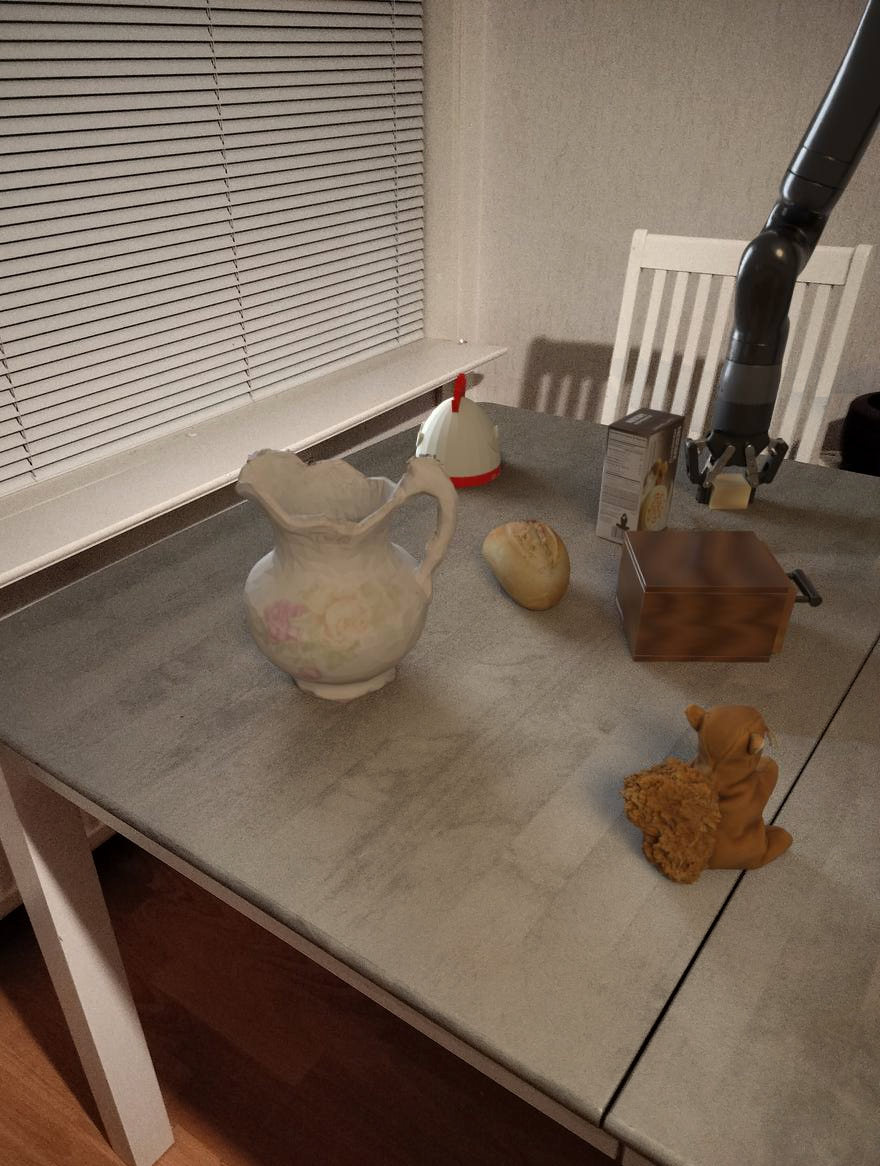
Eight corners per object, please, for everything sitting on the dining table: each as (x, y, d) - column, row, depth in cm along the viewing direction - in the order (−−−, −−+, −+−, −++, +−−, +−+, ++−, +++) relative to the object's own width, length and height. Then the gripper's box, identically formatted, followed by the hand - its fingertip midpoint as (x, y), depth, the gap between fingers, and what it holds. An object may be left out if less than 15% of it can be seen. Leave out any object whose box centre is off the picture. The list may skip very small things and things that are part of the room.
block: (734, 505, 125) (741, 473, 122) (744, 520, 121) (751, 487, 118) (700, 505, 125) (706, 473, 123) (708, 520, 121) (715, 487, 118)
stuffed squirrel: (798, 845, 71) (840, 723, 64) (687, 929, 65) (720, 804, 57) (700, 778, 78) (728, 661, 71) (591, 848, 71) (609, 727, 64)
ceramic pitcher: (434, 621, 103) (429, 416, 90) (473, 711, 86) (473, 474, 74) (253, 642, 100) (223, 433, 88) (257, 739, 83) (221, 498, 71)
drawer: (785, 598, 102) (801, 540, 97) (820, 653, 92) (839, 591, 88) (635, 597, 103) (644, 539, 98) (654, 651, 93) (665, 590, 89)
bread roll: (532, 552, 114) (536, 497, 110) (587, 607, 103) (594, 549, 98) (466, 564, 112) (467, 509, 108) (514, 622, 100) (518, 563, 96)
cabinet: (736, 601, 103) (753, 530, 98) (769, 662, 93) (790, 586, 87) (614, 601, 104) (624, 530, 98) (633, 661, 93) (645, 585, 88)
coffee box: (627, 513, 124) (643, 405, 114) (668, 526, 120) (687, 415, 111) (593, 536, 118) (607, 423, 109) (634, 550, 114) (652, 435, 105)
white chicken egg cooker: (505, 456, 142) (510, 366, 134) (494, 490, 131) (498, 393, 123) (424, 450, 145) (423, 362, 137) (406, 483, 134) (404, 388, 126)
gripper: (699, 402, 111) (678, 520, 120) (811, 401, 110) (781, 520, 119) (685, 384, 117) (666, 498, 126) (792, 383, 116) (765, 498, 126)
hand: (722, 508), depth 123 cm, fingers closed on block, 5 cm apart
